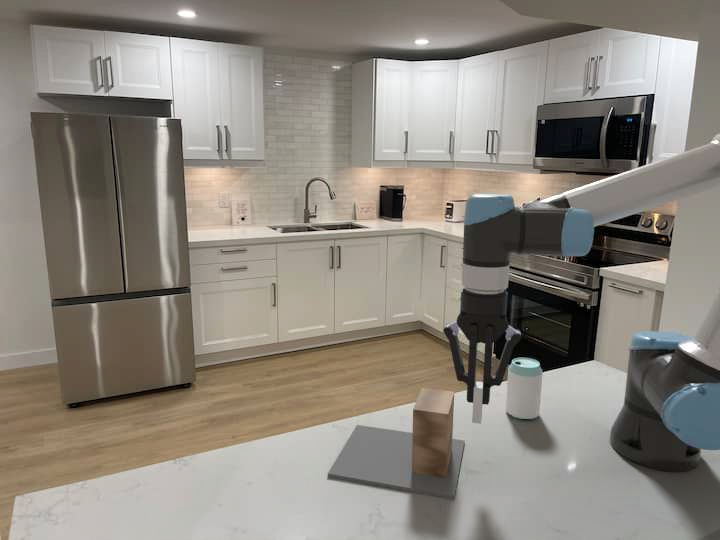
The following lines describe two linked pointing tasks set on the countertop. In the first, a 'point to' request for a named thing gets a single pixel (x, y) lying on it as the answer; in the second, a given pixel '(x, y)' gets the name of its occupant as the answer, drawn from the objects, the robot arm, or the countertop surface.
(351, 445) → the mat
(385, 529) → the countertop surface
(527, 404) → the can
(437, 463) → the walnut block
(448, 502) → the countertop surface
